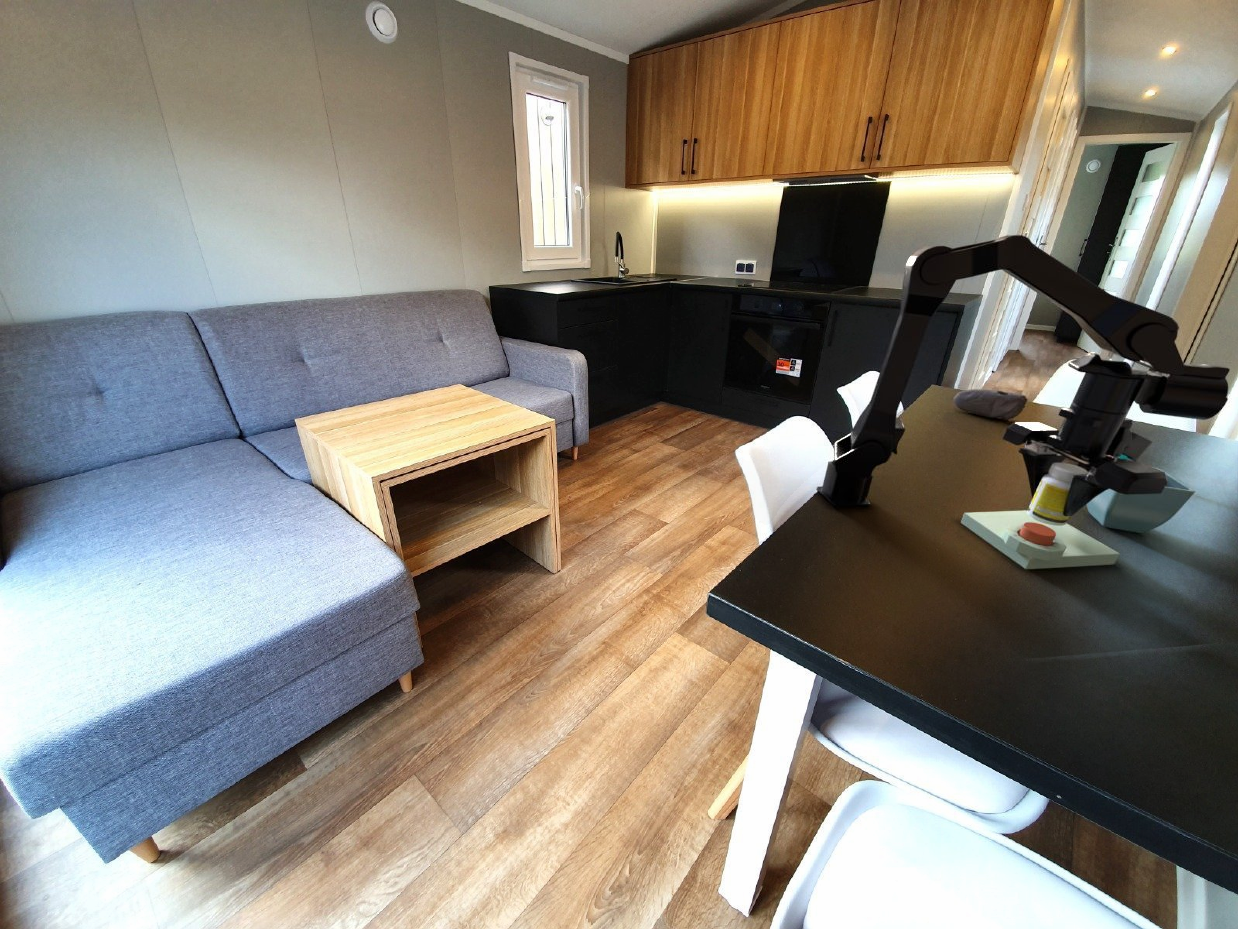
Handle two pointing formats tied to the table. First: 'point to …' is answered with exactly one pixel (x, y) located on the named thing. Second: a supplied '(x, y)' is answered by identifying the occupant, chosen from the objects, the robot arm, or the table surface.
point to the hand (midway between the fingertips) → (1051, 507)
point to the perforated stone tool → (990, 403)
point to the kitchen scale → (1062, 552)
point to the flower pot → (1140, 507)
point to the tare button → (1037, 533)
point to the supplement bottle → (1053, 494)
